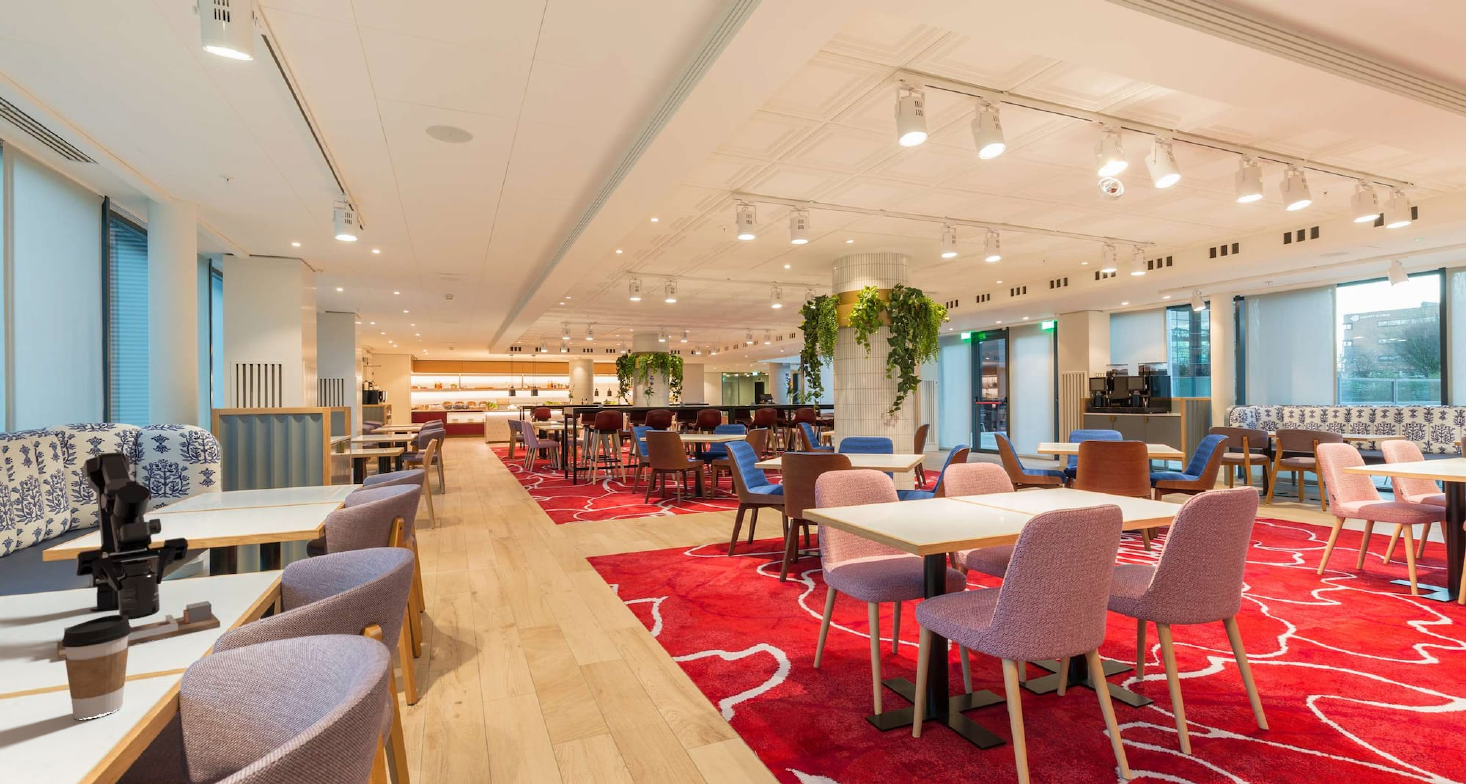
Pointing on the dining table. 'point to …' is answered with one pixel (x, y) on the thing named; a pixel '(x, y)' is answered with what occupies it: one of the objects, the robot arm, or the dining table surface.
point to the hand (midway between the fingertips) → (139, 586)
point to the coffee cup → (97, 664)
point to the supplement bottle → (138, 590)
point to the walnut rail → (168, 626)
